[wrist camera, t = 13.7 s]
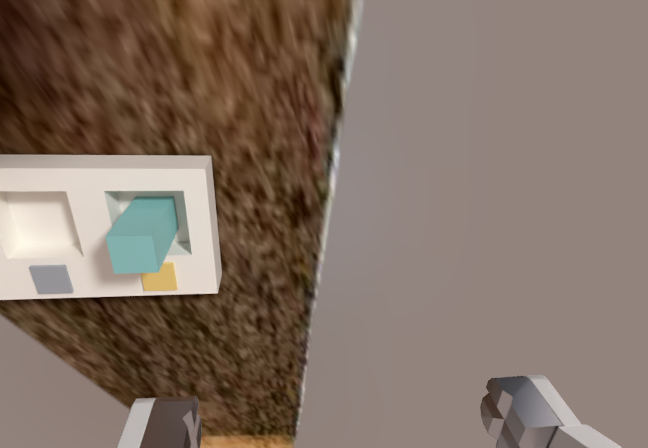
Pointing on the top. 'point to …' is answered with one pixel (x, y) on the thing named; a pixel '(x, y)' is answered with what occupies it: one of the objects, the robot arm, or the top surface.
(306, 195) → the top surface
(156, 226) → the plug
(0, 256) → the socket block
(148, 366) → the top surface
